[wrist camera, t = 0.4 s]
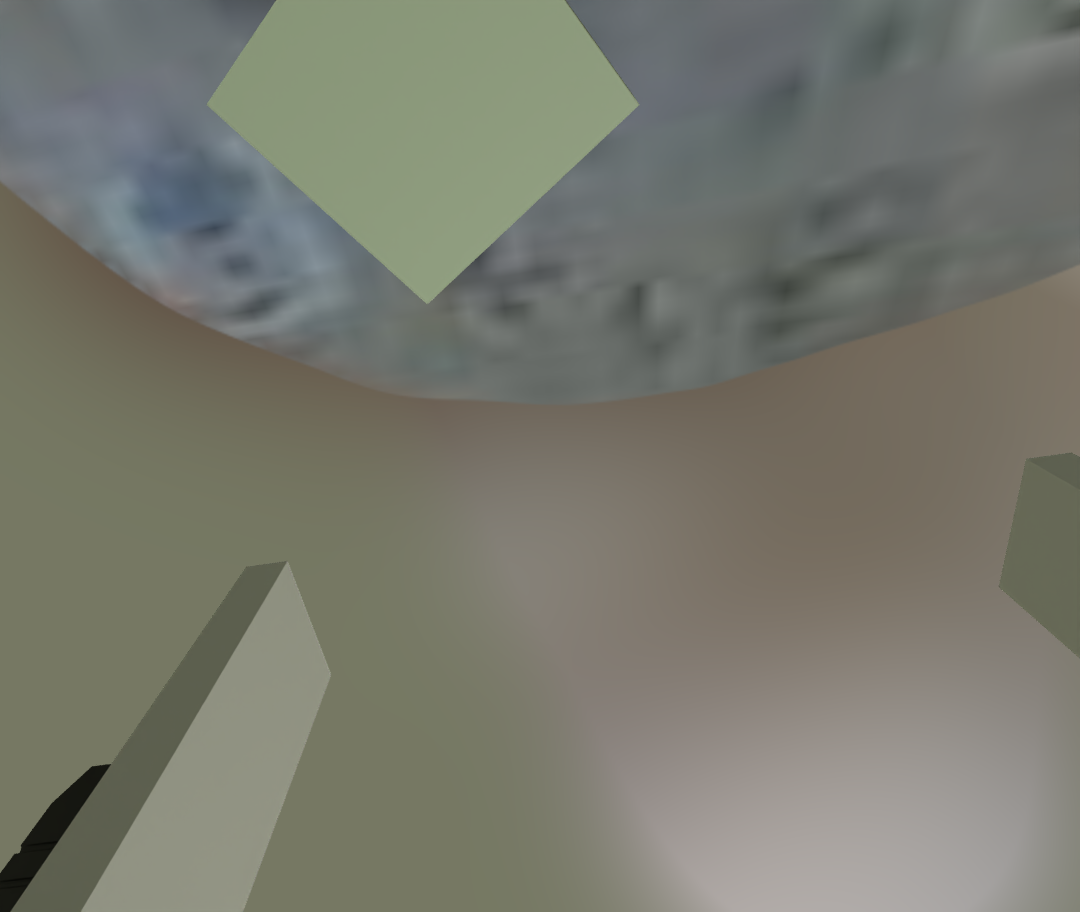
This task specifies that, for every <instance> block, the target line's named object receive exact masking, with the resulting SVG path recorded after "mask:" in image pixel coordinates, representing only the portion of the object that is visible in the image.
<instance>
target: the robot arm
mask: <svg viewBox="0 0 1080 912" xmlns="http://www.w3.org/2000/svg"><path fill="white" fill-rule="evenodd" d="M999 587H1000V588H1001V589H1002V590H1003V591H1004V592H1005V593H1006V594H1007V595H1009V596H1010V597H1011V598H1012V599H1013V600H1014V601H1015V602H1016V603H1018V604H1019V605H1020V606H1021V607H1022V608H1023V609H1024V610H1026V611H1027V612H1028V613H1029V614H1030V615H1031V616H1032V617H1034V618H1035V619H1036V620H1037V621H1038V622H1039V623H1040V624H1042V625H1043V626H1044V627H1045V628H1046V629H1047V630H1048V631H1050V632H1051V633H1052V634H1053V635H1054V636H1055V637H1056V638H1057V639H1058V640H1060V641H1061V642H1062V643H1063V644H1064V645H1065V646H1067V647H1068V648H1069V649H1070V650H1071V651H1072V652H1073V653H1074V654H1076V655H1077V656H1078V657H1079V658H1080V457H1079V456H1077V455H1075V454H1073V453H1065V454H1058V455H1051V456H1044V457H1037V458H1029V459H1026V462H1025V468H1024V472H1023V476H1022V481H1021V486H1020V490H1019V495H1018V500H1017V505H1016V509H1015V514H1014V518H1013V523H1012V528H1011V532H1010V537H1009V542H1008V546H1007V551H1006V556H1005V560H1004V565H1003V570H1002V575H1001V579H1000V584H999ZM330 676H331V673H330V671H329V669H328V665H327V663H326V660H325V658H324V655H323V652H322V650H321V647H320V645H319V642H318V639H317V637H316V634H315V632H314V629H313V626H312V624H311V621H310V619H309V616H308V613H307V611H306V608H305V606H304V603H303V601H302V598H301V595H300V593H299V590H298V587H297V585H296V582H295V580H294V577H293V575H292V572H291V569H290V566H289V564H288V562H287V561H285V562H279V563H272V564H263V565H256V566H250V567H246V568H245V569H244V571H243V573H242V574H241V575H240V577H239V578H238V580H237V581H236V583H235V584H234V586H233V587H232V589H231V590H230V591H229V593H228V594H227V596H226V598H225V599H224V600H223V602H222V603H221V605H220V606H219V608H218V609H217V610H216V612H215V613H214V615H213V616H212V618H211V619H210V621H209V622H208V624H207V625H206V626H205V628H204V630H203V631H202V633H201V634H200V635H199V637H198V638H197V640H196V641H195V643H194V644H193V645H192V647H191V648H190V650H189V651H188V653H187V654H186V656H185V657H184V659H183V660H182V662H181V663H180V665H179V666H178V668H177V669H176V670H175V672H174V673H173V675H172V676H171V678H170V679H169V681H168V682H167V684H166V685H165V687H164V688H163V690H162V691H161V692H160V694H159V695H158V697H157V698H156V700H155V701H154V703H153V704H152V705H151V707H150V709H149V710H148V711H147V713H146V714H145V716H144V717H143V719H142V720H141V722H140V723H139V724H138V726H137V727H136V729H135V730H134V732H133V733H132V735H131V736H130V738H129V739H128V741H127V742H126V743H125V745H124V746H123V748H122V749H121V751H120V752H119V754H118V755H117V757H116V758H115V760H114V761H113V762H112V764H109V765H100V766H92V767H91V768H90V769H89V770H88V771H86V772H85V773H84V774H83V775H82V776H81V777H80V778H79V779H78V780H77V781H76V782H75V783H73V784H72V785H71V786H70V787H69V788H68V789H67V790H66V791H65V792H64V793H62V794H61V795H60V796H59V797H58V798H57V799H56V800H55V801H54V802H53V803H52V804H51V805H50V806H49V808H48V809H47V810H46V812H45V813H44V815H43V816H42V817H41V819H40V820H39V821H38V823H37V824H36V825H35V827H34V828H33V829H32V831H31V832H30V834H29V835H28V836H27V838H26V839H25V841H24V842H23V843H22V844H21V851H20V853H18V854H14V855H13V857H12V858H11V860H10V861H9V862H8V863H7V865H6V866H5V868H4V869H3V870H2V872H1V873H0V912H243V910H244V907H245V904H246V902H247V899H248V896H249V894H250V891H251V888H252V886H253V883H254V880H255V878H256V875H257V872H258V869H259V867H260V864H261V862H262V859H263V856H264V854H265V851H266V848H267V845H268V843H269V840H270V837H271V835H272V832H273V829H274V827H275V824H276V821H277V819H278V816H279V813H280V811H281V808H282V805H283V802H284V800H285V797H286V794H287V792H288V789H289V786H290V784H291V781H292V778H293V776H294V773H295V770H296V768H297V765H298V762H299V759H300V757H301V754H302V751H303V749H304V746H305V743H306V741H307V738H308V735H309V733H310V730H311V727H312V725H313V722H314V719H315V716H316V714H317V711H318V708H319V706H320V703H321V700H322V698H323V695H324V692H325V690H326V687H327V684H328V681H329V679H330Z"/></svg>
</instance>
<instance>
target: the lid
mask: <svg viewBox="0 0 1080 912" xmlns="http://www.w3.org/2000/svg"><path fill="white" fill-rule="evenodd" d="M207 105H208V106H209V107H210V108H211V109H212V110H213V111H214V112H215V113H216V114H217V115H219V116H220V117H221V118H222V119H223V120H224V121H225V122H226V123H227V124H229V125H230V126H231V127H232V128H233V129H234V130H235V131H236V132H237V133H238V134H240V135H241V136H242V137H243V138H244V139H245V140H246V141H247V142H248V143H250V144H251V145H252V146H253V147H254V148H255V149H256V150H257V151H258V152H260V153H261V154H262V155H263V156H264V157H265V158H266V159H267V160H268V161H269V162H271V163H272V164H273V165H274V166H275V167H276V168H277V169H278V170H279V171H281V172H282V173H283V174H284V175H285V176H286V177H287V178H288V179H289V180H290V181H292V182H293V183H294V184H295V185H296V186H297V187H298V188H299V189H300V190H302V191H303V192H304V193H305V194H306V195H307V196H308V197H309V198H310V199H311V200H313V201H314V202H315V203H316V204H317V205H318V206H319V207H320V208H321V209H323V210H324V211H325V212H326V213H327V214H328V215H329V216H330V217H331V218H332V219H334V220H335V221H336V222H337V223H338V224H339V225H340V226H341V227H342V228H344V229H345V230H346V231H347V232H348V233H349V234H350V235H351V236H352V237H354V238H355V239H356V240H357V241H358V242H359V243H360V244H361V245H362V246H363V247H365V248H366V249H367V250H368V251H369V252H370V253H371V254H372V255H373V256H375V257H376V258H377V259H378V260H379V261H380V262H381V263H382V264H383V265H384V266H386V267H387V268H388V269H389V270H390V271H391V272H392V273H393V274H394V275H396V276H397V277H398V278H399V279H400V280H401V281H402V282H403V283H404V284H405V285H407V286H408V287H409V288H410V289H411V290H412V291H413V292H414V293H415V294H417V295H418V296H419V297H420V298H421V299H422V300H423V301H424V302H425V303H426V304H428V303H429V302H430V301H431V300H432V299H433V298H435V297H436V296H437V295H438V294H439V293H440V292H441V291H442V290H443V289H444V288H445V287H446V286H447V285H448V284H449V283H450V282H452V281H453V280H454V279H455V278H456V277H457V276H458V275H459V274H460V273H461V272H462V271H463V270H464V269H465V268H466V267H467V266H469V265H470V264H471V263H472V262H473V261H474V260H475V259H476V258H477V257H478V256H479V255H480V254H481V253H482V252H483V251H484V250H486V249H487V248H488V247H489V246H490V245H491V244H492V243H493V242H494V241H495V240H496V239H497V238H498V237H499V236H500V235H501V234H503V233H504V232H505V231H506V230H507V229H508V228H509V227H510V226H511V225H512V224H513V223H514V222H515V221H516V220H517V219H518V218H520V217H521V216H522V215H523V214H524V213H525V212H526V211H527V210H528V209H529V208H530V207H531V206H532V205H533V204H534V203H535V202H537V201H538V200H539V199H540V198H541V197H542V196H543V195H544V194H545V193H546V192H547V191H548V190H549V189H550V188H551V187H552V186H554V185H555V184H556V183H557V182H558V181H559V180H560V179H561V178H562V177H563V176H564V175H565V174H566V173H567V172H568V171H569V170H571V169H572V168H573V167H574V166H575V165H576V164H577V163H578V162H579V161H580V160H581V159H582V158H583V157H584V156H585V155H586V154H588V153H589V152H590V151H591V150H592V149H593V148H594V147H595V146H596V145H597V144H598V143H599V142H600V141H601V140H602V139H603V138H605V137H606V136H607V135H608V134H609V133H610V132H611V131H612V130H613V129H614V128H615V127H616V126H617V125H618V124H619V123H620V122H622V121H623V120H624V119H625V118H626V117H627V116H628V115H629V114H630V113H631V112H632V111H633V110H634V109H635V108H636V107H638V106H639V104H638V102H637V100H636V99H635V97H634V96H633V94H632V93H631V91H630V90H629V89H628V87H627V86H626V84H625V83H624V82H623V80H622V79H621V77H620V76H619V75H618V73H617V72H616V70H615V69H614V68H613V66H612V65H611V63H610V62H609V61H608V59H607V58H606V56H605V55H604V53H603V52H602V51H601V49H600V48H599V46H598V45H597V44H596V42H595V41H594V39H593V38H592V37H591V35H590V34H589V32H588V31H587V30H586V28H585V27H584V25H583V24H582V23H581V21H580V20H579V18H578V17H577V16H576V14H575V13H574V11H573V10H572V8H571V7H570V6H569V4H568V3H567V1H566V0H276V2H275V3H274V5H273V6H272V8H271V9H270V11H269V12H268V14H267V15H266V17H265V18H264V20H263V21H262V23H261V24H260V26H259V27H258V29H257V30H256V31H255V33H254V34H253V36H252V37H251V39H250V40H249V42H248V43H247V45H246V46H245V48H244V49H243V51H242V52H241V54H240V55H239V57H238V58H237V60H236V61H235V63H234V64H233V66H232V67H231V69H230V70H229V72H228V73H227V75H226V76H225V78H224V79H223V81H222V82H221V84H220V85H219V87H218V88H217V90H216V91H215V93H214V94H213V96H212V97H211V99H210V100H209V102H208V103H207Z"/></svg>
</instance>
